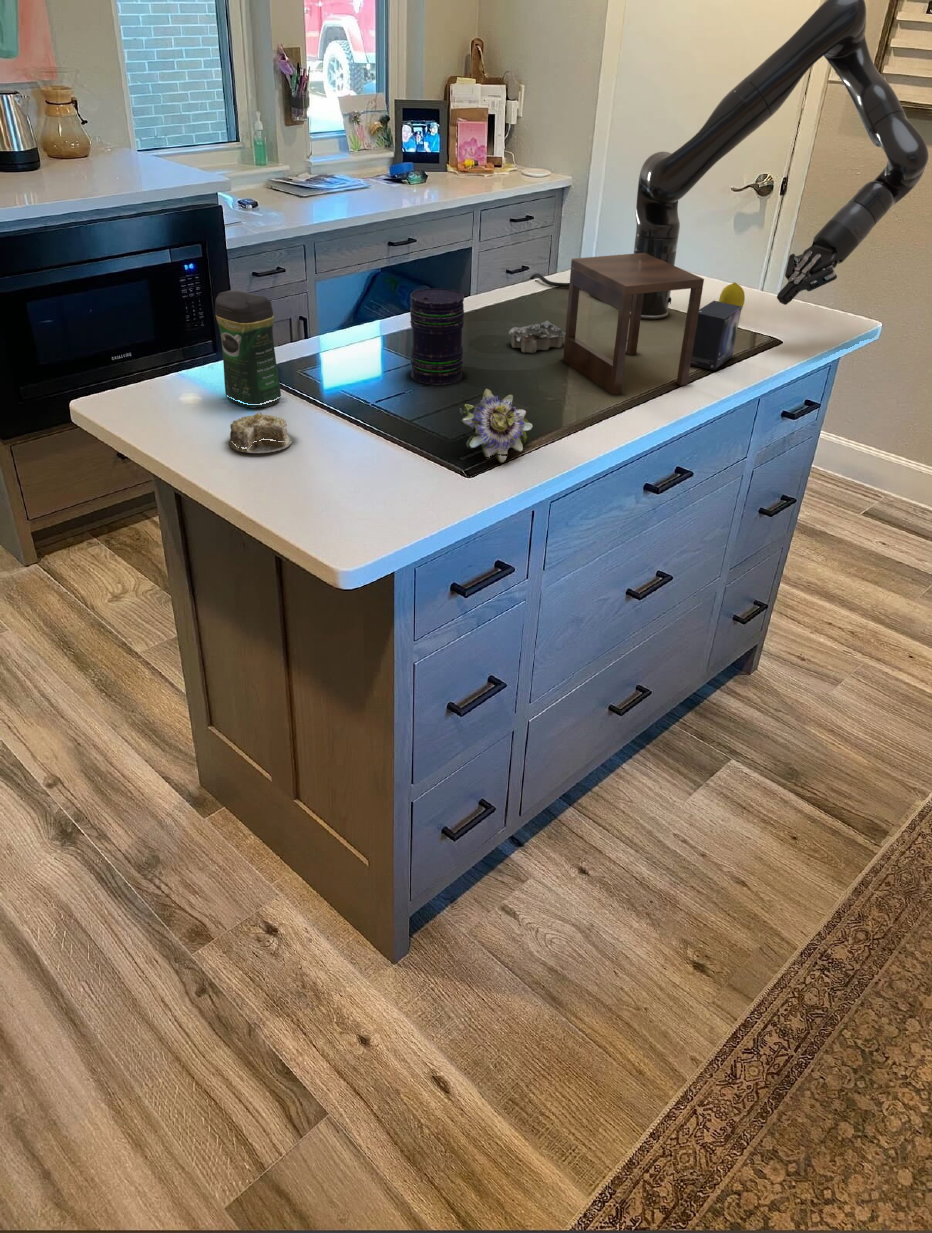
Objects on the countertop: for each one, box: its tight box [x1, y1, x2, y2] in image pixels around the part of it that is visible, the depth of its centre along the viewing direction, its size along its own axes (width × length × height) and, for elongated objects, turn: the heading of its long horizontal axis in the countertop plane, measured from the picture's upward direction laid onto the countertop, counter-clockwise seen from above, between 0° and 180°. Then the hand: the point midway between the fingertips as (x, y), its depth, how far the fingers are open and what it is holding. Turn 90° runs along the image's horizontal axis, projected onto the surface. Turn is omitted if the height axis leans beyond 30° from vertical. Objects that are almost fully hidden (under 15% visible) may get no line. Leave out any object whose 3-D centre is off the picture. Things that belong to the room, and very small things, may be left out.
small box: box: [690, 300, 743, 371], centre depth 187 cm, size 11×6×10 cm, turn 148°
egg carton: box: [508, 320, 566, 354], centre depth 194 cm, size 11×8×4 cm
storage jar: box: [409, 287, 465, 386], centre depth 175 cm, size 10×10×15 cm
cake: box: [228, 412, 293, 454], centre depth 150 cm, size 10×10×5 cm
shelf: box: [562, 253, 705, 396], centre depth 178 cm, size 20×16×20 cm
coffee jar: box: [214, 288, 282, 409], centre depth 162 cm, size 10×8×19 cm
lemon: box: [718, 282, 746, 311], centre depth 212 cm, size 6×6×8 cm
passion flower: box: [458, 388, 534, 464], centre depth 149 cm, size 11×11×12 cm
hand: (780, 301), depth 189 cm, fingers closed
